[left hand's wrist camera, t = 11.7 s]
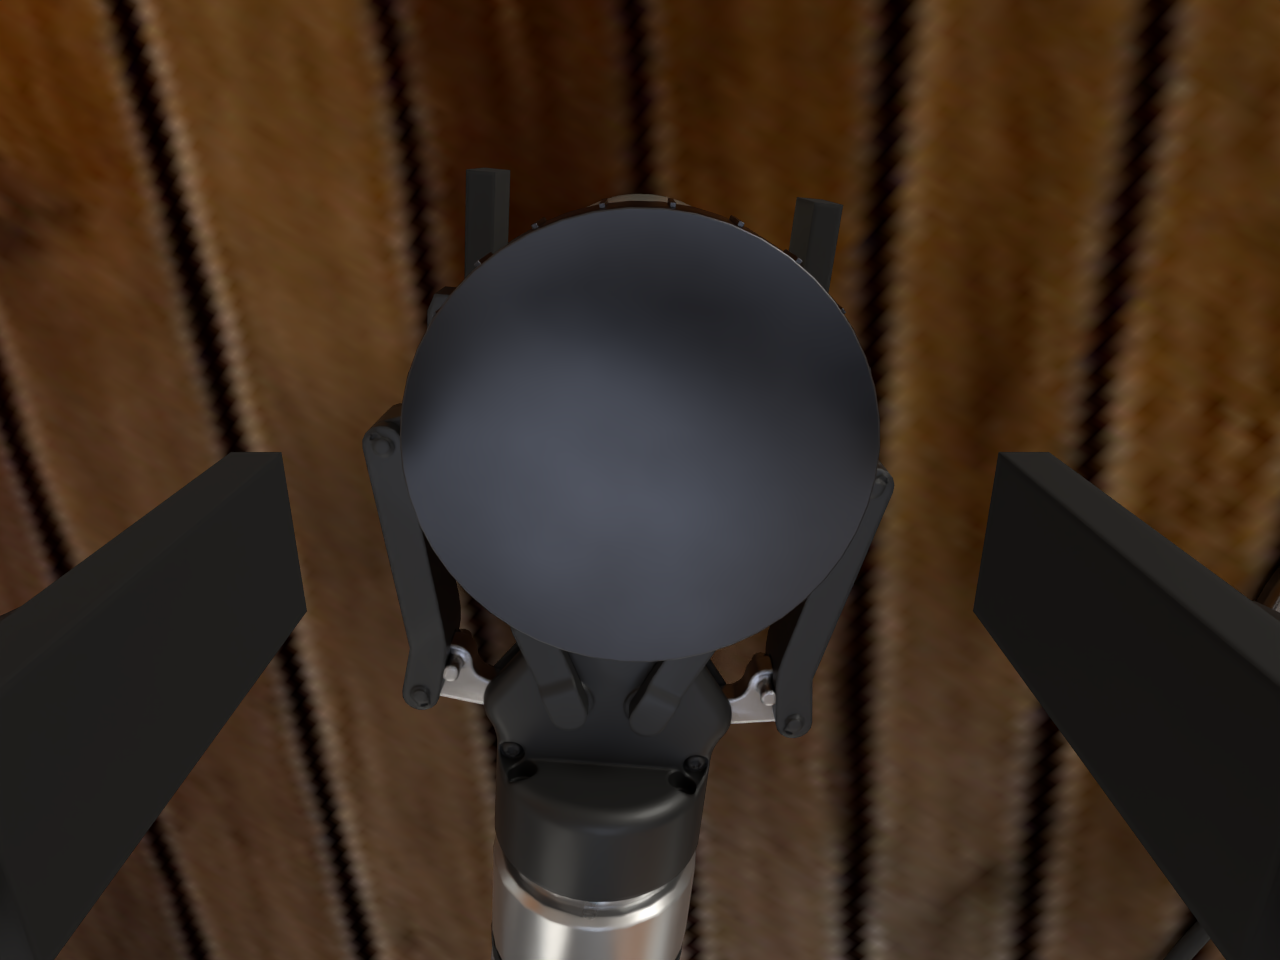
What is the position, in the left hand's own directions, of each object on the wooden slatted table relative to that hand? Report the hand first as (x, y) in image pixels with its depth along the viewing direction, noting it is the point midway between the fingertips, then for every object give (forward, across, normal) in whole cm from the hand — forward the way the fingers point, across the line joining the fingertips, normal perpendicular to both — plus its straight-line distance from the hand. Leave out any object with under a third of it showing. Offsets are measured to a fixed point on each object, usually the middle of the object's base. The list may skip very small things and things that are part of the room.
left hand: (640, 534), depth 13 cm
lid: (+4, 0, 0) cm, 4 cm away
